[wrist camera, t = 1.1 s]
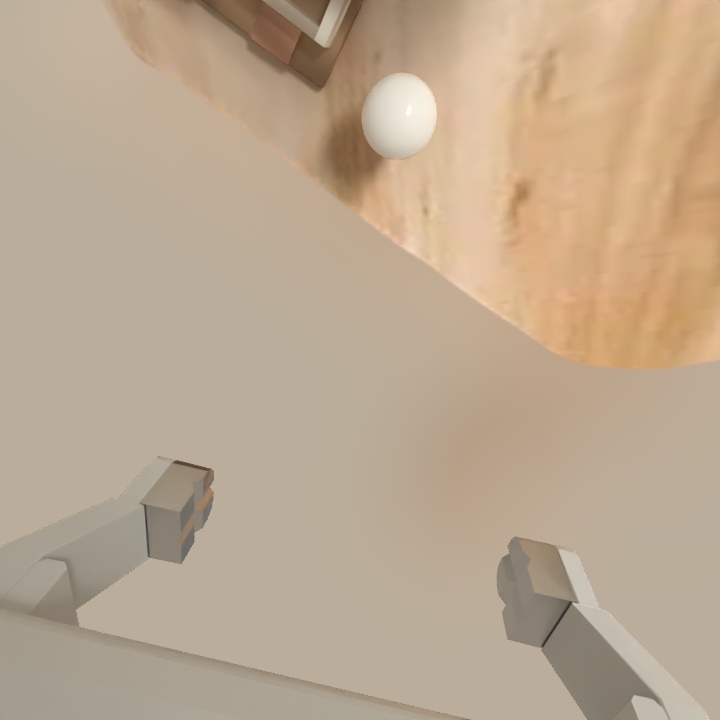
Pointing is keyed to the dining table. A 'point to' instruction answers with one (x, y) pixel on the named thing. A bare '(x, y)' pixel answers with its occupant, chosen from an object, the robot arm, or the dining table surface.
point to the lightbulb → (399, 116)
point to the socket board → (295, 30)
